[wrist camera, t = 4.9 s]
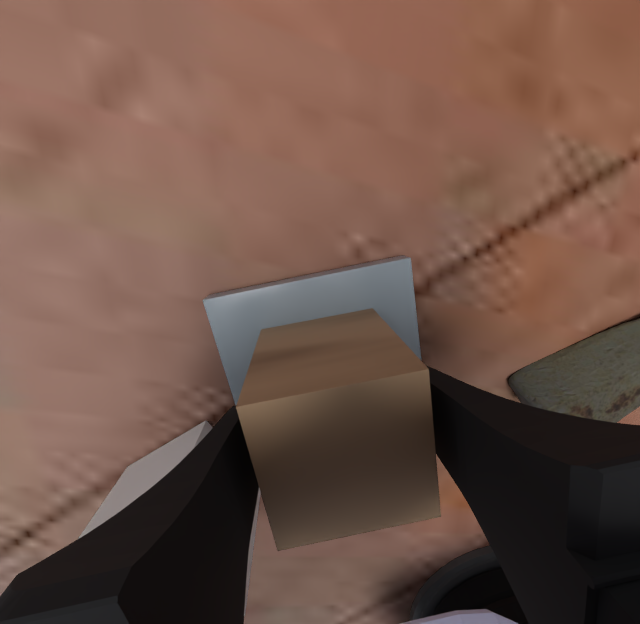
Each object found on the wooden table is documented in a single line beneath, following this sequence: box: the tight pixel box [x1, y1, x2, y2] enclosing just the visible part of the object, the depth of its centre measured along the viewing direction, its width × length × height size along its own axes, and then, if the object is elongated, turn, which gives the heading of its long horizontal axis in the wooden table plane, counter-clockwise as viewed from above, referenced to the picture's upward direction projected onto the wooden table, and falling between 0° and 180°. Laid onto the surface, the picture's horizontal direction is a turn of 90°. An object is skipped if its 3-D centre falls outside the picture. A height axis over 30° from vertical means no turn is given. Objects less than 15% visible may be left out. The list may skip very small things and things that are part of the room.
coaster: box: [203, 255, 421, 405], centre depth 15 cm, size 9×9×1 cm
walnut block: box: [236, 308, 441, 551], centre depth 11 cm, size 5×5×6 cm
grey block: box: [78, 420, 261, 616], centre depth 14 cm, size 5×5×6 cm
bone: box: [508, 318, 640, 423], centre depth 15 cm, size 13×5×4 cm, turn 117°
